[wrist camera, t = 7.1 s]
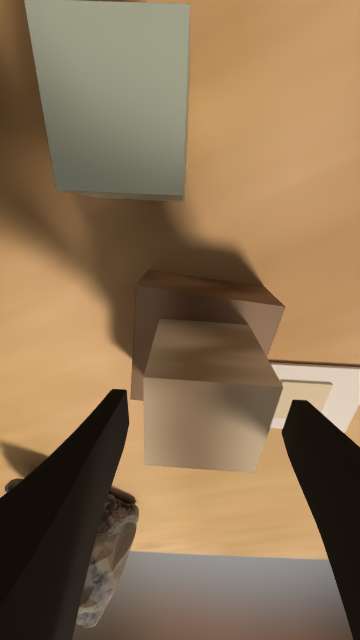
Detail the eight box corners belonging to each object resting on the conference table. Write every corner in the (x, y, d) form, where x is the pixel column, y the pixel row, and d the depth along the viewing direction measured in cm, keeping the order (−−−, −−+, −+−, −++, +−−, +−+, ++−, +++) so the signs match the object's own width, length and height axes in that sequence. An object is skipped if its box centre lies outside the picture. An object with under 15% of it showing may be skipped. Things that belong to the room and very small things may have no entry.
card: (374, 367, 18) (378, 371, 17) (343, 429, 21) (346, 434, 20) (246, 360, 18) (248, 364, 17) (234, 423, 21) (235, 427, 20)
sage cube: (189, 88, 11) (189, 3, 7) (184, 202, 13) (182, 195, 9) (89, 85, 11) (24, -2, 7) (100, 198, 13) (56, 190, 9)
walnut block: (262, 285, 16) (285, 306, 12) (235, 376, 19) (246, 413, 15) (148, 269, 15) (136, 285, 12) (141, 363, 19) (130, 399, 15)
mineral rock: (16, 461, 25) (-85, 604, 16) (104, 444, 23) (49, 595, 14) (73, 521, 30) (22, 655, 21) (148, 511, 28) (129, 653, 19)
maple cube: (249, 324, 12) (283, 387, 8) (234, 393, 15) (254, 473, 10) (159, 318, 13) (143, 377, 8) (157, 387, 15) (144, 464, 10)
